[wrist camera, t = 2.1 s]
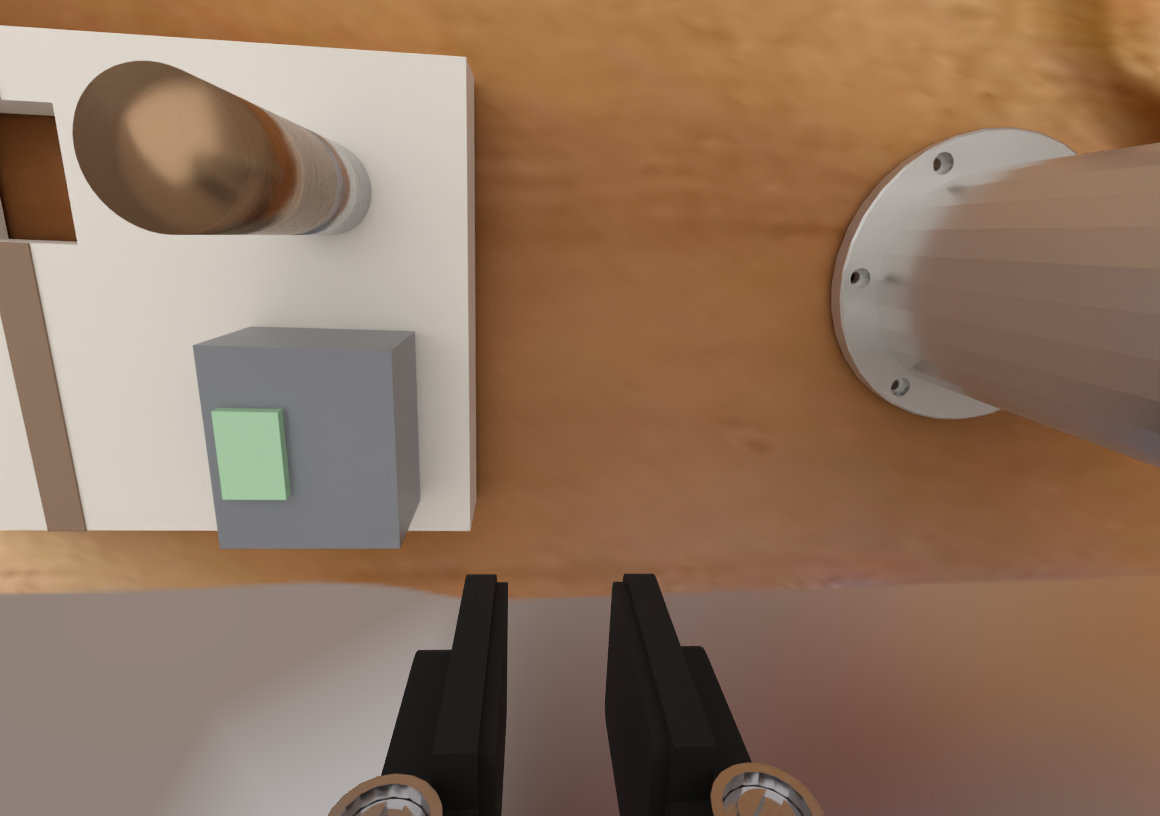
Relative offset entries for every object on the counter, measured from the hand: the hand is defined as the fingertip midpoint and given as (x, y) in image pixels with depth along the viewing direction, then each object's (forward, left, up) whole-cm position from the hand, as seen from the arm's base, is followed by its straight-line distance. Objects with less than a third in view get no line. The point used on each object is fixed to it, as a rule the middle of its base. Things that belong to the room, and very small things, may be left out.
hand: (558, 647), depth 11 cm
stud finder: (+8, 0, -14) cm, 16 cm away
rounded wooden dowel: (+8, -8, -14) cm, 18 cm away
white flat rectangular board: (+14, -4, -17) cm, 22 cm away
